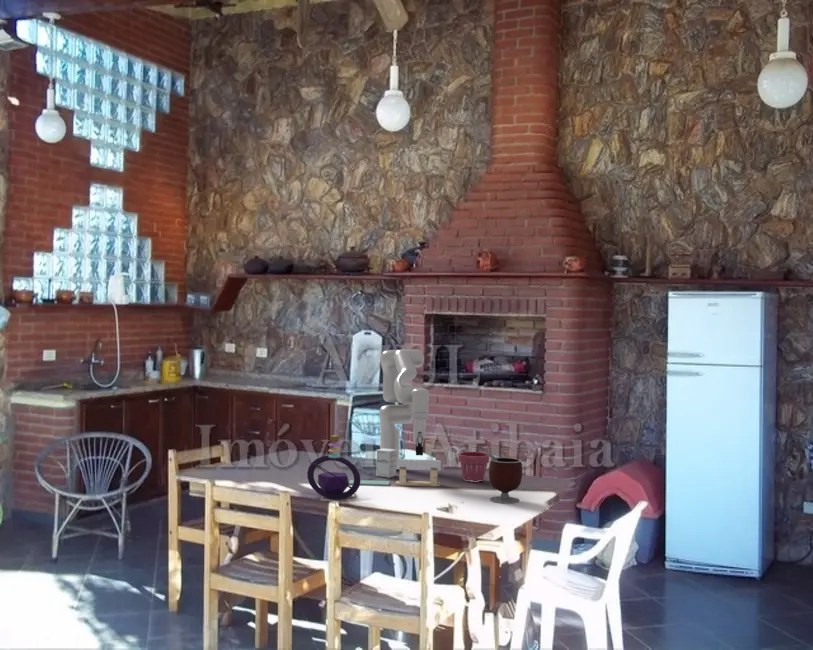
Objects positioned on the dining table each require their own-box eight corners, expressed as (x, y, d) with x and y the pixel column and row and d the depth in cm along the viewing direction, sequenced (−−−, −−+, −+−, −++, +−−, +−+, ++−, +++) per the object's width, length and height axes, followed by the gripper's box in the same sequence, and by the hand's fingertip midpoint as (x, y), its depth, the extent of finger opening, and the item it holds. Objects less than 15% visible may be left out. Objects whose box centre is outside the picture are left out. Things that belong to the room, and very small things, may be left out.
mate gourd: (518, 497, 374) (519, 450, 374) (523, 504, 360) (525, 455, 360) (482, 497, 374) (483, 450, 374) (486, 503, 360) (487, 455, 360)
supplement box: (375, 476, 416) (376, 449, 416) (383, 474, 423) (383, 447, 423) (389, 477, 413) (389, 451, 413) (396, 475, 420) (397, 449, 419)
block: (396, 469, 396) (396, 460, 396) (396, 467, 400) (396, 459, 400) (440, 470, 396) (440, 461, 396) (440, 469, 400) (440, 460, 400)
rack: (396, 482, 401) (396, 465, 401) (439, 483, 401) (440, 466, 401) (395, 485, 395) (396, 467, 395) (440, 486, 395) (440, 468, 395)
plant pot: (458, 483, 404) (459, 455, 404) (457, 477, 418) (458, 451, 418) (489, 484, 404) (490, 456, 404) (487, 478, 418) (488, 452, 418)
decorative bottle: (305, 499, 358) (307, 438, 358) (307, 489, 379) (309, 431, 379) (360, 500, 359) (362, 439, 359) (359, 490, 380) (361, 432, 380)
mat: (350, 481, 401) (350, 479, 401) (389, 482, 401) (389, 481, 401) (349, 484, 393) (349, 483, 393) (389, 485, 393) (389, 484, 393)
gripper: (411, 414, 406) (410, 451, 406) (411, 417, 389) (411, 456, 389) (427, 414, 406) (427, 451, 406) (428, 417, 389) (428, 456, 389)
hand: (419, 453), depth 397 cm, fingers open, 9 cm apart
